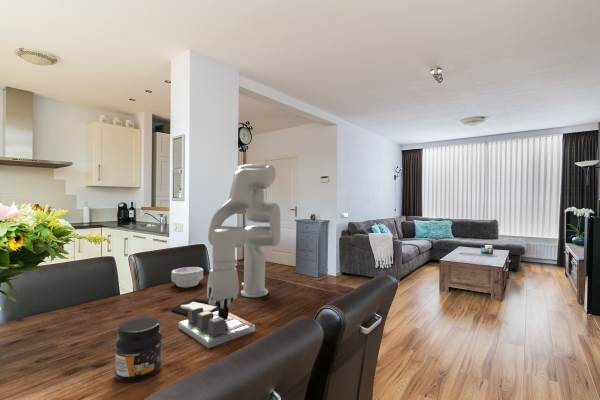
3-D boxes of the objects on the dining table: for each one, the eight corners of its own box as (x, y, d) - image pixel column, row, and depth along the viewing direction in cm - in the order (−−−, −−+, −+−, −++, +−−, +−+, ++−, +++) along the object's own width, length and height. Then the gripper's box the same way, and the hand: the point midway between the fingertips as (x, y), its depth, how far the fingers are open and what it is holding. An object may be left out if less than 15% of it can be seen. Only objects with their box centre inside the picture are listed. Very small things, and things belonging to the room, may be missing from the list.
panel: (178, 327, 104) (178, 321, 104) (222, 314, 116) (223, 309, 116) (208, 348, 89) (208, 340, 89) (254, 331, 102) (255, 324, 102)
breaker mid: (197, 326, 99) (197, 313, 99) (208, 323, 102) (208, 310, 102) (201, 329, 97) (202, 315, 97) (213, 325, 100) (213, 312, 100)
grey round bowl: (181, 280, 164) (181, 265, 164) (208, 281, 162) (208, 266, 162) (164, 288, 149) (165, 272, 149) (194, 290, 147) (194, 273, 147)
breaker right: (208, 333, 94) (208, 319, 94) (219, 329, 97) (219, 315, 97) (213, 336, 92) (213, 322, 92) (224, 332, 95) (225, 318, 95)
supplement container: (111, 388, 70) (111, 336, 70) (117, 366, 80) (118, 320, 80) (161, 378, 74) (161, 329, 74) (162, 357, 84) (162, 314, 84)
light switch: (167, 307, 118) (194, 294, 131) (167, 315, 119) (194, 301, 131) (205, 316, 110) (230, 301, 122) (206, 324, 110) (231, 308, 122)
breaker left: (187, 320, 104) (188, 307, 104) (198, 317, 107) (198, 305, 107) (191, 322, 102) (192, 310, 102) (203, 319, 105) (203, 307, 105)
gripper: (236, 260, 112) (236, 310, 112) (198, 266, 102) (197, 321, 102) (248, 263, 107) (247, 316, 107) (209, 270, 97) (208, 328, 97)
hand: (223, 318), depth 105 cm, fingers closed
